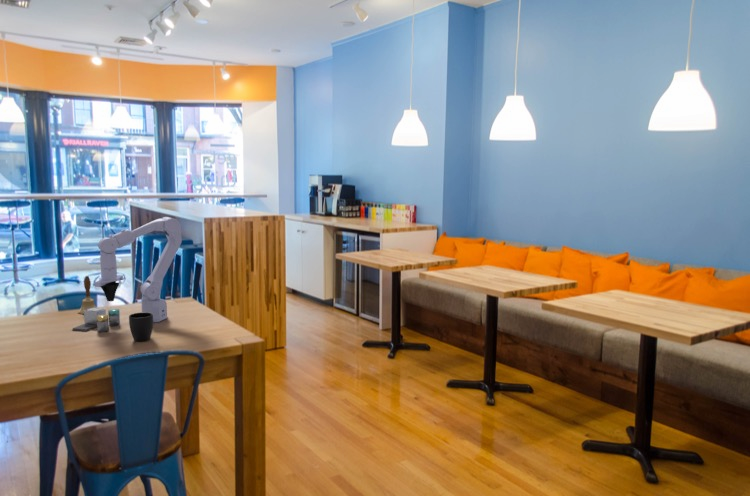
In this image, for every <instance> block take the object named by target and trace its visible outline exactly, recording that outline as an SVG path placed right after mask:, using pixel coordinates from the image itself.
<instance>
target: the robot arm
mask: <svg viewBox="0 0 750 496" xmlns="http://www.w3.org/2000/svg"><path fill="white" fill-rule="evenodd" d="M155 231H156V232H163V233H164V234H165V236H166V239H167V242H166V244H165V246H164V248H163V250H162V252H161V254H160V256H159V258H158V260H157V261H156V263H155V265H154V268H153V270H152V271H151V274H150V275H149V276H148V277H147V278H146V279H145V281H144V282H142V283H141V284H140V287H139V290H140V293H141V294H142V295H141V312H149V313H152V314H153V323H160V322H161V321H163V320H166V319H168V318H169V316H168V309H167V308H168V305H167V301H166V300H165V299H163V298H161V294H162V293H161V291H162V288H163V283H164V282H163V280H164V278H165V276H166V274H167V272H168V269H170V266H171V264H172V262H173V260H174V258H175V256H176V254H177V253H178V250H179V248H180V247H181V244H182V243H183V242H182V241H183V237H182V226H181V224H180V222H179V220H178V219H176V218H173V217H170V216H163V217H162V218H161V217H160V218H156V219H155V220H152V221H150V222H147V223H145V224H143V225H142V226H139V227H137V228H135V229H133V230H131V229H127V228H126V229H124V228H123V229H121V230H120V232H119V231H118V232H117V233H115V234H113V235H112V234H109V235H108V237H103V238H101V239H100V240H99V242H98V244H97V247H98V249H99V250H100V251H99V255H100V256H99V258H100V259H99V261H100V263H99V264H100V275H101V277H100V278H99V279H98V280H96V281H95V282H94V287H95V288H101V289H102V291H103V293H104V295H105V298H106V300H107V302H114V301H115V296H116V292H117V290H118V288H119V286H120V282H119V281H123V280H124V275H121V274H118V272H117V271H118V269H117V268H118V267H117V256H116V251H117V249H120V248H123V247H126V246H127V245H129V244H133V243H134V242H135V240H136V239H137V238H139V237H141V236H144V235H146V234H149V233H152V232H155Z"/></svg>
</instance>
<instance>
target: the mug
mask: <svg viewBox="0 0 750 496" xmlns="http://www.w3.org/2000/svg"><path fill="white" fill-rule="evenodd" d="M128 324H129V325H128V326H129V329H130V333H131V336H132V338H133V341H134V343H136V342H137V343H143V342H148V341H150V339H151V337H152V333H153V329H154V328H153V327H154V322H153V314H152V313H149V312H142V311H141V312H140V311H139V312H134V313H131V314H129V315H128Z"/></svg>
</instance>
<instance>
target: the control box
mask: <svg viewBox="0 0 750 496" xmlns="http://www.w3.org/2000/svg"><path fill="white" fill-rule="evenodd" d="M100 315H107V313H106V308H99V307H96V308H91V309H88V310H85V311H84V314H83V319H84V324H88V325H97V316H100Z"/></svg>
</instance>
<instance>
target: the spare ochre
mask: <svg viewBox="0 0 750 496" xmlns="http://www.w3.org/2000/svg"><path fill="white" fill-rule="evenodd" d="M96 329H97V330H96V331H97V333H99V334H101V333H102V334H103V333H108V332H109V331H110V326H109V315H107V314H106V315H100V316H97V327H96Z"/></svg>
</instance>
